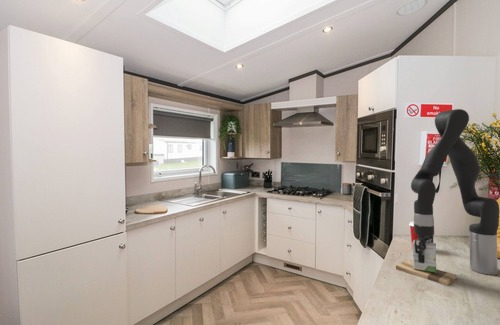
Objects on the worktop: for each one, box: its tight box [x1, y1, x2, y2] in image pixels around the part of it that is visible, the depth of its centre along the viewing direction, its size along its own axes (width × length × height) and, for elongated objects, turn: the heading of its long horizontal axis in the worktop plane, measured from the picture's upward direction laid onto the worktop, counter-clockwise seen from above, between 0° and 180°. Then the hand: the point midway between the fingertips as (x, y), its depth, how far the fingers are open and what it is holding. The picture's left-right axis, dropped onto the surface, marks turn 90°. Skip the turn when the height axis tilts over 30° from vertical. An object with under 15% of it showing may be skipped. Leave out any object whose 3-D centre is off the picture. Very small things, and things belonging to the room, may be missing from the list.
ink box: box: [412, 240, 437, 273], centre depth 114 cm, size 9×5×12 cm, turn 52°
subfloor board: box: [395, 259, 457, 287], centre depth 114 cm, size 10×20×2 cm, turn 35°
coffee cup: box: [408, 220, 418, 250], centre depth 142 cm, size 8×8×15 cm
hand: (424, 260), depth 114 cm, fingers closed on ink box, 6 cm apart
